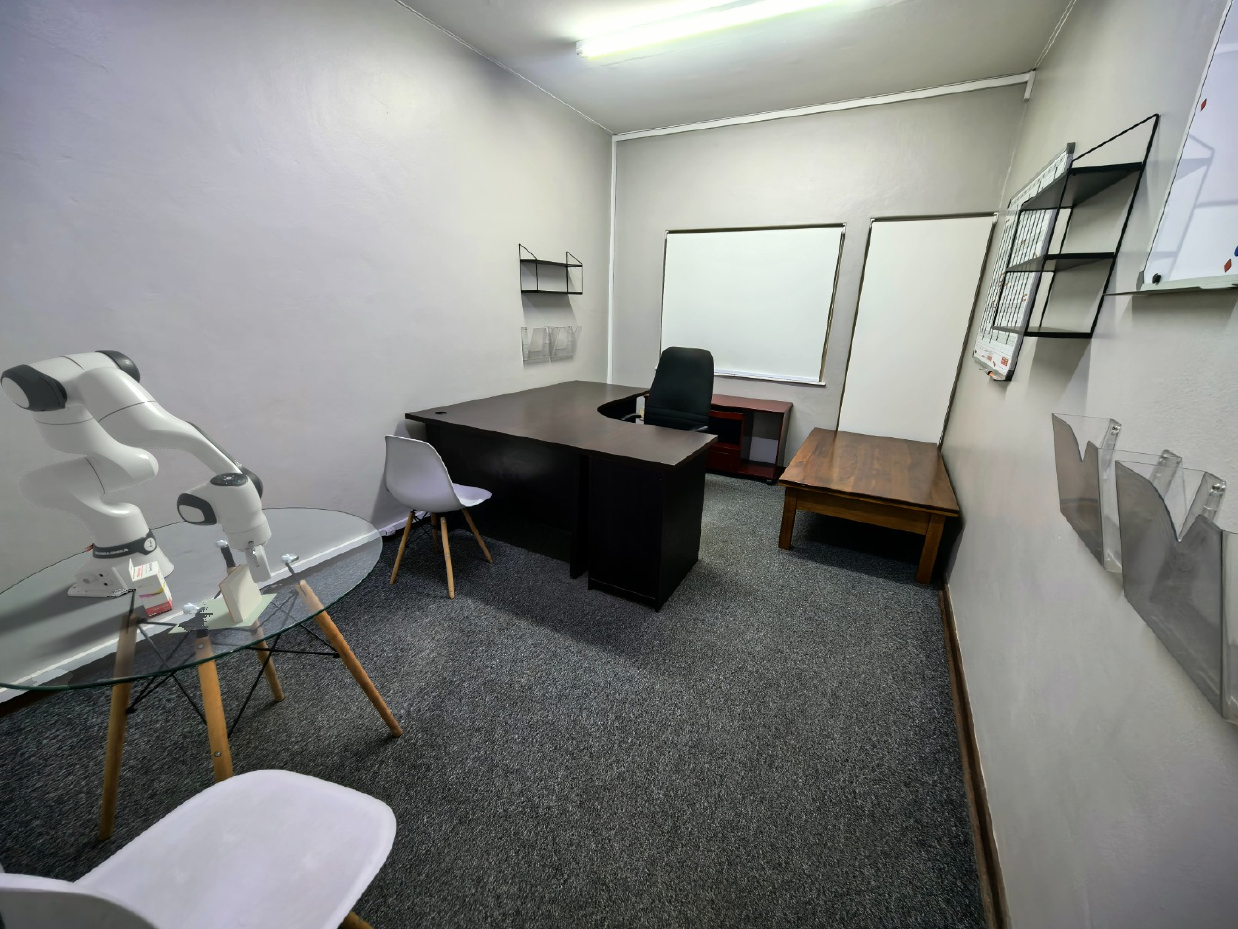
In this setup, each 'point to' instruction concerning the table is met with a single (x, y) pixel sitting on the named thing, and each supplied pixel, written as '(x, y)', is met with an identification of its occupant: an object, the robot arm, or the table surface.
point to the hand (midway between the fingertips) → (264, 579)
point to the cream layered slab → (240, 593)
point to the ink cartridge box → (151, 587)
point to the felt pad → (226, 614)
